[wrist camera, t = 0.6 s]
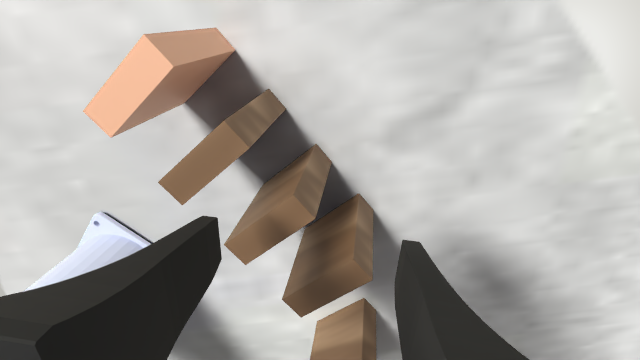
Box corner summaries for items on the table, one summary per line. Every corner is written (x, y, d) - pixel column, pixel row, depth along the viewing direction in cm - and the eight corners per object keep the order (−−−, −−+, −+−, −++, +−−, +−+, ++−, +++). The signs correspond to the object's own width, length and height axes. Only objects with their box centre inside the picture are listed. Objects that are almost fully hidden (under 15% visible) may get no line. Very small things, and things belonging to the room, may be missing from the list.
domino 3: (331, 161, 23) (315, 218, 16) (278, 200, 24) (245, 265, 18) (316, 143, 22) (293, 194, 16) (263, 184, 24) (223, 244, 18)
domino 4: (373, 209, 24) (372, 279, 17) (319, 243, 26) (301, 317, 19) (358, 193, 23) (353, 259, 17) (305, 228, 25) (282, 299, 19)
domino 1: (235, 50, 20) (173, 66, 14) (184, 102, 22) (110, 137, 16) (216, 27, 20) (143, 34, 14) (166, 83, 22) (82, 111, 16)
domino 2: (286, 108, 21) (249, 148, 15) (233, 154, 23) (182, 205, 17) (268, 88, 21) (223, 120, 15) (216, 136, 23) (158, 182, 17)
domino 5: (376, 310, 28) (376, 396, 21) (329, 332, 30) (317, 418, 23) (363, 297, 27) (360, 382, 21) (317, 321, 29) (301, 405, 23)
